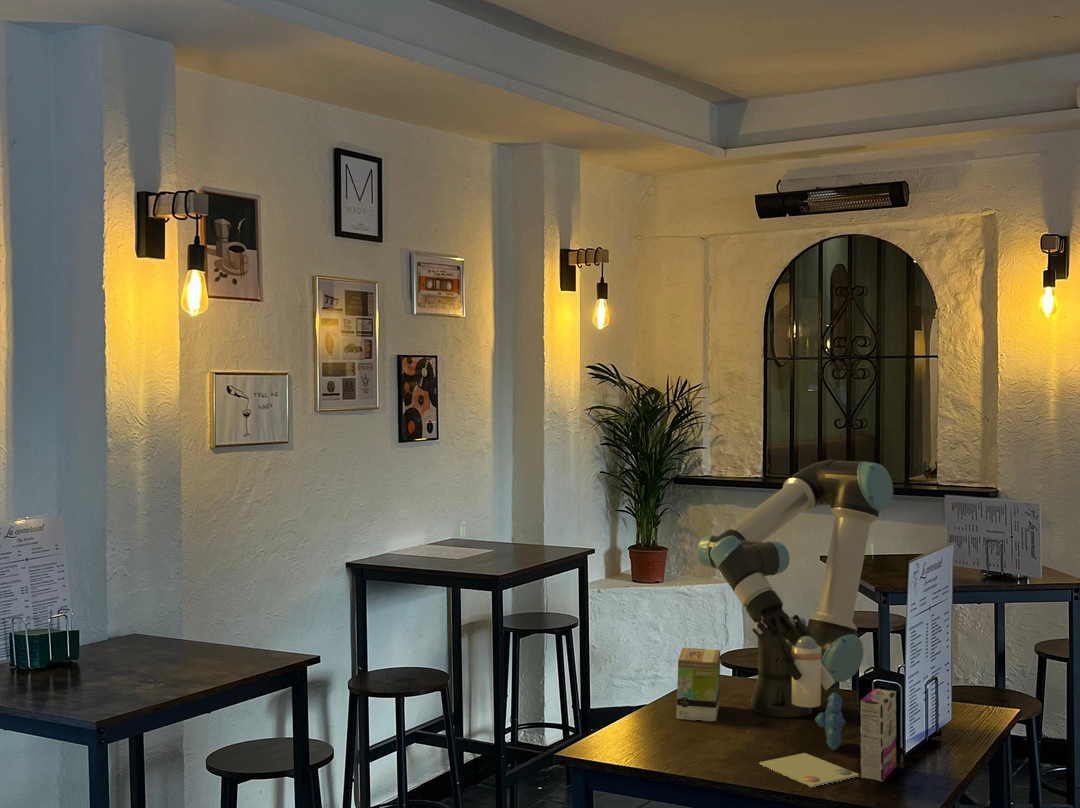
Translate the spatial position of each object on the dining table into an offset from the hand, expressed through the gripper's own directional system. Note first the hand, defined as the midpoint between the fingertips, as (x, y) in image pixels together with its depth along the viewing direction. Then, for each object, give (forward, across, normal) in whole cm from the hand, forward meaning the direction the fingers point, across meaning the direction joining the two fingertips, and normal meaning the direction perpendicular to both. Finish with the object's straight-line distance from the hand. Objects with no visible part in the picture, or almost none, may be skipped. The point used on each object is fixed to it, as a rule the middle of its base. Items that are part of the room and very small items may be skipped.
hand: (820, 688), depth 234 cm
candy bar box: (+18, -11, -8) cm, 22 cm away
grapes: (+6, -18, -20) cm, 28 cm away
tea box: (-20, -15, -47) cm, 53 cm away
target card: (+11, 0, -15) cm, 18 cm away
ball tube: (0, 0, -5) cm, 5 cm away
